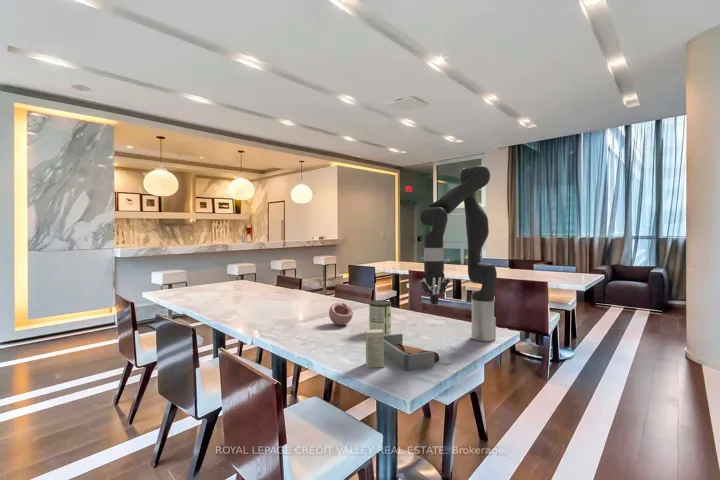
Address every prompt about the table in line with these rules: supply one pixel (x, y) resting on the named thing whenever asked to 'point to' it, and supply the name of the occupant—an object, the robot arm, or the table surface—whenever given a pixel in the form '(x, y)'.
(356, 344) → the table surface
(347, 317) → the mortar and pestle
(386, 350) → the gray u-shaped bracket
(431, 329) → the table surface
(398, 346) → the sunglasses case
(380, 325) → the coffee can
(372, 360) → the skincare box
